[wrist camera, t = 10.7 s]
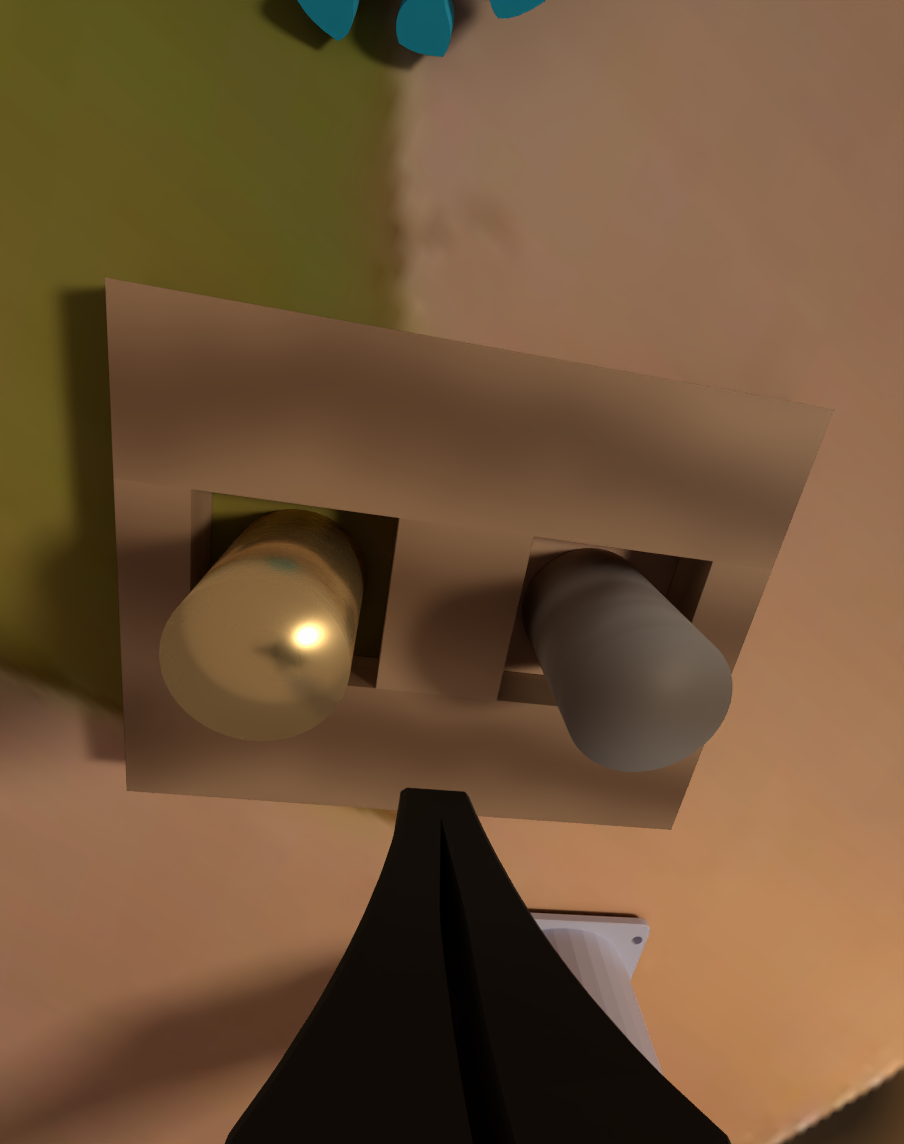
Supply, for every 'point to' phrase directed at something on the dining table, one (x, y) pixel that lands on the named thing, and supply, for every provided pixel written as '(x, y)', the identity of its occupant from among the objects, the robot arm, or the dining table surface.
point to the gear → (408, 20)
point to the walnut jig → (451, 553)
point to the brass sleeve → (268, 629)
